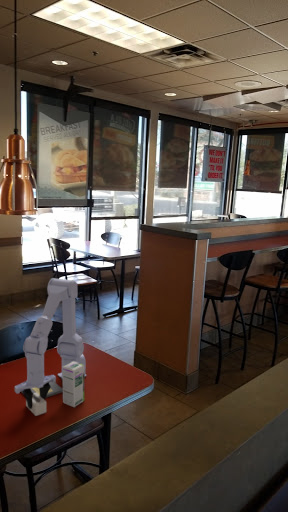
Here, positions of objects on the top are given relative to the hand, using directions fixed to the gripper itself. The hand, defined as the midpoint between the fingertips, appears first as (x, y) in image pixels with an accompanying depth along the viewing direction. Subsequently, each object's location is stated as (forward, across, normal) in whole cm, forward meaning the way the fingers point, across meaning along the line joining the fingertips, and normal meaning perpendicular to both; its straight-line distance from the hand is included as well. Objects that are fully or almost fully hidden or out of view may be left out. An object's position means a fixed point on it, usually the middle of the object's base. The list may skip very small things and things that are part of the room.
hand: (36, 405), depth 142 cm
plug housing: (+1, 0, 0) cm, 1 cm away
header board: (+1, +7, +10) cm, 13 cm away
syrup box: (+2, +13, -4) cm, 14 cm away
